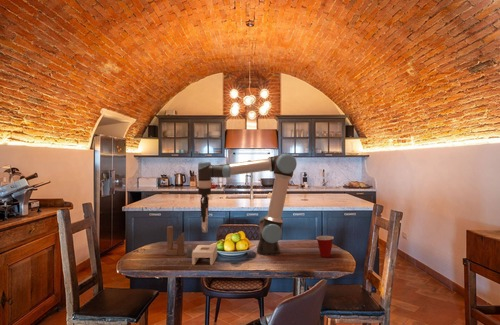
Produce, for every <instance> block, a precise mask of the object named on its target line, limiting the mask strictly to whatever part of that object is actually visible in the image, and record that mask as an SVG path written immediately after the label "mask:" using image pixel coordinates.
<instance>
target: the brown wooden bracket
mask: <svg viewBox="0 0 500 325" xmlns="http://www.w3.org/2000/svg"><path fill="white" fill-rule="evenodd" d="M166 239H167V242H166V245H167V246H166V247H167V248H166V250H165V252H166V256H179V257H181V256H182V257H183V256H184V255H185V232H182V233H181V234H180V235H179V236H178V238H176V239H175V240H174V227H173V225H170V226H167V227H166ZM174 245H177V248H175V247H174Z"/></svg>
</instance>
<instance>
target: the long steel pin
mask: <svg viewBox="0 0 500 325" xmlns="http://www.w3.org/2000/svg"><path fill="white" fill-rule="evenodd" d="M208 212H209V207H208V208H206V222H207V227H206V228H202V227H201V233H208V232H209V219H208V218H209V217H208V216H209V215H208V214H209V213H208Z"/></svg>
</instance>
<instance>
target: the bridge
mask: <svg viewBox="0 0 500 325" xmlns="http://www.w3.org/2000/svg"><path fill="white" fill-rule="evenodd" d="M217 257H218V244H198V245H197V246H196V247H195V248H193V252H192V257H191V265H196V263H197V262H198V261H199V259H200V258H201V259H206V258H208V259H209V265H210V266H211V265H214V263H215V262H216V260H217Z"/></svg>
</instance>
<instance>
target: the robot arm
mask: <svg viewBox="0 0 500 325" xmlns="http://www.w3.org/2000/svg"><path fill="white" fill-rule="evenodd" d="M297 164H298V163H297V160H296V158H295V156H294V155H292V154H290V153H287V152H285V153H284V152H283V153H280V154H278V155H274V156H268V157H267V158H264V159H257V160H249V161H243V162H242V161H241V162H240V161H239V162H233V163H231V162H230V163H226V164H225V163H224V164H214V165H213V164H211V161H200V162H198V165H197V178H198V179H197V180H198V181H197V183H196V184H198V186H197V187H198V188H197V192H198V193H197V194H198V195H201V197H200V202H199V203H200V216H199V217H200V218H201V229H202V228H206V227H207V222H206V208H208V209H209V196H208V195H211V194H212V188H211V187H212V181H211V180H212V178H215V179H216V178H220V179H221V178H224V179H226V178H231V176H235V175H243V174H252V173H260V172H268V171H269V172H271V173H273V175H274V176H275V177H274V181H273V182H274V183H273V188H272V191H271V197H270V202H269V206H268V211H267V215H265V216H260V217H259V220H258V223H259V232H258V233H259V236H258V238H259V241H258V243H257V244H258V245H257V247H256V253H257V254H258V255H261V256H276V255H279V254H280V253H281V248H280V244H279V241H280V240H281V239H282V236H283V231H282V229H283V226H284V221H283V219H282V216H283V211H284V206H285V203H286V202H285V201H286V196H287V192H288V188H289V184H290V180H291V179H292V178H293V175H294V172H295V170H296V168H297ZM209 215H210V213H209V211H208V216H209Z"/></svg>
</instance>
